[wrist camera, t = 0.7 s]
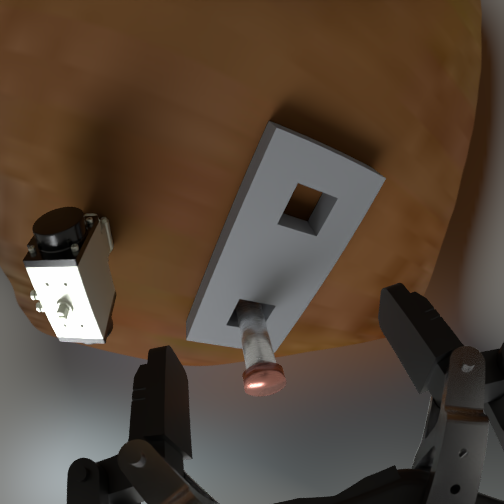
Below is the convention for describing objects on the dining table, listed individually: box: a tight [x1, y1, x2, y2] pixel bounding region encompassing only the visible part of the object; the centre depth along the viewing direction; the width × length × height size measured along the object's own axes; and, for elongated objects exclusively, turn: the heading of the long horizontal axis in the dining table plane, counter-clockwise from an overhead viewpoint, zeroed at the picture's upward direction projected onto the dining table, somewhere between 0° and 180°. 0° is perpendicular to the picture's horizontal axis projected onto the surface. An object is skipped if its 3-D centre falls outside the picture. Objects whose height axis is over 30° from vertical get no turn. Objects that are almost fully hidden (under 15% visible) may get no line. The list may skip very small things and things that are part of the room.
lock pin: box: [236, 299, 286, 396], centre depth 32 cm, size 4×4×12 cm
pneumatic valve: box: [23, 207, 116, 344], centre depth 24 cm, size 6×12×12 cm, turn 176°
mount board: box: [186, 121, 386, 352], centre depth 33 cm, size 26×12×3 cm, turn 158°
